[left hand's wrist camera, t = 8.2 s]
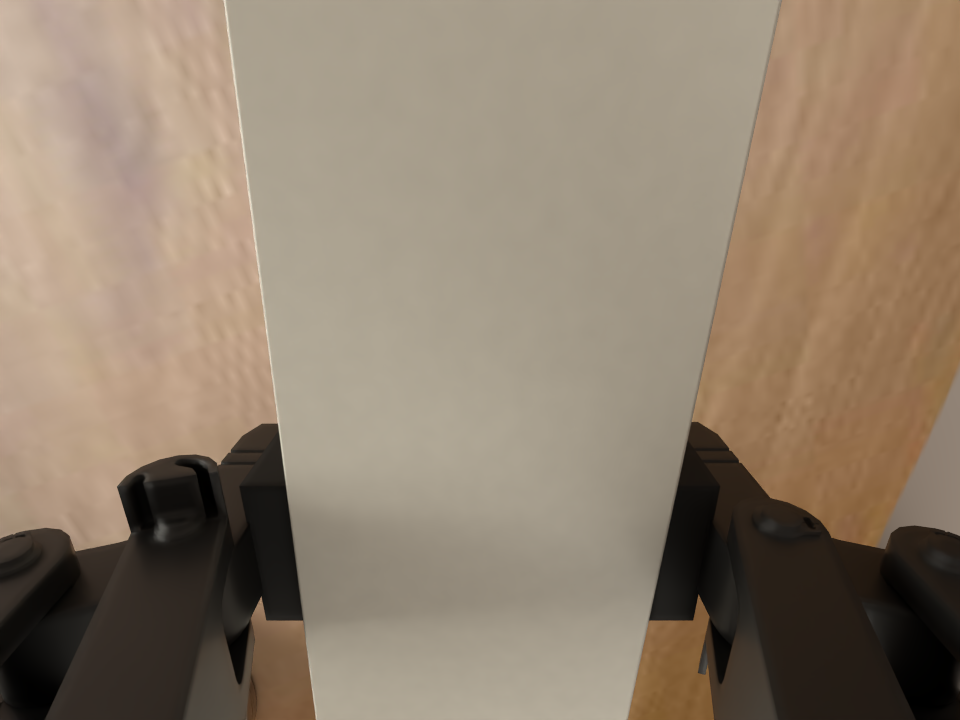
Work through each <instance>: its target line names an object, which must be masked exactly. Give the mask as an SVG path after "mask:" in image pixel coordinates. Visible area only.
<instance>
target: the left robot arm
mask: <svg viewBox="0 0 960 720" xmlns="http://www.w3.org/2000/svg"><path fill="white" fill-rule="evenodd" d="M117 488H118V491H119V495H120V498H121V501H122V504H123V508H124V511H125V514H126V517H127V521H128V524H129V527H130V530H131V535H130V537H129V539H128V540H127V541H123V542H120V543H115V544H110V545H106V546H101V547H96V548H91V549H86V550H81V551H76V552H75V550H74V547H73V545H72V542H71V539H70V536H69V535H68V534H66V533H65V532H63V531H62V530H59V529H50V528H43V529H36V530H29V531H23V532H19V533H16V534H14V535H13V534H12V535H9V536H6V537H3V538H1V539H0V720H255V716H256V711H257V699H256V692H255V688H254V685H253V682H252V680H251V669H252V660H253V652H254V643H255V638H254V632H253V626H252V622H251V616H252V614H253V612H254V610H255V608H256V606H257V604H258V602H259V600H260V598H261V596H262V601H263V606H264V610H265V615H266V620H303V614H302V606H301V598H300V590H299V583H298V575H297V567H296V559H295V552H294V544H293V536H292V528H291V521H290V513H289V505H288V497H287V489H286V482H285V474H284V466H283V458H282V451H281V443H280V435H279V427H278V424H261V425H259V426H258V427H256V428H255V429H253V430H251V431H250V432H248V433H247V434H245V435H243V436H242V437H241V438H240V440H239V441H238V442H237V443H236V445H235V446H234V447H233V448H232V449H231V453H228V454H227V456H226V457H225V458H224V459H223V460H222V462H221V465H218V466H217V463H216V462H215V461H213V460H212V459H211V458H209V457H205V456H200V455H178V456H174V457H169V458H165V459H160V460H158V461H155V462H153V463H150V464H147V465H145V466H142V467H141V468H139V469H137V470H136V471H134V472H132V473H131V474H129V475H128V476H126V477H125V478H124V480H123V481H122V482H121V483H120V484H119V485H118V486H117ZM698 594H699V596H700V598H701V600H702V602H703V604H704V606H705V608H706V610H707V612H708V614H709V616H710V617H709V622H708V626H707V631H706V635H705V640H704V645H703V649H702V654H701V658H700V663H699V670H698V673H700V674H704V675H705V673H706V669H707V665H708V668H709V677H710V686H711V695H712V704H713V713H714V720H960V536H958V535H956V534H953V533H950V532H945V531H943V530H939V529H935V528H928V527H921V526H906V527H899V528H898V529H896V530H895V531H894V532H892V533H891V535H890V538H889V540H888V543H887V546H886V549H880V548H876V547H871V546H866V545H861V544H856V543H851V542H846V541H841V540H838V539H834V538H831V536H830V534H829V532H828V531H827V529H826V528H825V527H824V525H823V524H822V523H821V522H820V521H819V520H818V519H817V518H815V517H814V516H812V515H811V514H810V513H808V512H807V511H805V510H803V509H801V508H799V507H797V506H794V505H792V504H790V503H787V502H783V501H779V500H775V499H772V498H770V497H769V496H768V495H767V494H766V492H765V491H764V490H763V489H762V487H761V486H760V485H759V484H758V483H757V481H756V480H755V479H754V478H753V477H752V475H751V474H750V473H749V472H748V471H747V469H746V468H745V467H744V466H743V465H742V463H739V460H738V458H737V457H736V456H735V455H734V454H733V452H732V451H729V448H728V446H727V445H726V444H725V443H724V442H723V440H722V439H721V438H720V437H719V436H718V434H716V433H715V432H713V431H711V430H710V429H708V428H707V427H705V426H703V425H702V424H700V423H698V422H691V426H690V431H689V435H688V440H687V445H686V449H685V454H684V459H683V463H682V468H681V473H680V477H679V482H678V487H677V491H676V496H675V501H674V505H673V510H672V515H671V519H670V524H669V529H668V533H667V538H666V543H665V547H664V552H663V557H662V561H661V566H660V571H659V575H658V580H657V585H656V589H655V594H654V599H653V603H652V608H651V613H650V617H649V620H693V618H694V613H695V609H696V604H697V599H698Z"/></svg>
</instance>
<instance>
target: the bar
mask: <svg viewBox="0 0 960 720" xmlns="http://www.w3.org/2000/svg"><path fill="white" fill-rule="evenodd" d="M781 2H782V0H224V8H225V16H226V23H227V31H228V39H229V47H230V54H231V62H232V70H233V78H234V85H235V93H236V101H237V109H238V117H239V124H240V132H241V140H242V148H243V155H244V163H245V171H246V179H247V186H248V194H249V202H250V210H251V218H252V225H253V233H254V241H255V249H256V256H257V264H258V272H259V280H260V287H261V295H262V303H263V311H264V319H265V326H266V334H267V342H268V350H269V357H270V365H271V373H272V381H273V388H274V396H275V404H276V412H277V420H278V427H279V435H280V443H281V451H282V458H283V466H284V474H285V482H286V489H287V497H288V505H289V513H290V521H291V528H292V536H293V544H294V552H295V559H296V567H297V575H298V583H299V590H300V598H301V606H302V614H303V622H304V629H305V637H306V645H307V653H308V660H309V668H310V676H311V684H312V691H313V699H314V707H315V715H316V720H628V715H629V711H630V706H631V701H632V697H633V692H634V687H635V683H636V678H637V673H638V669H639V664H640V659H641V655H642V650H643V645H644V641H645V636H646V631H647V627H648V622H649V617H650V613H651V608H652V603H653V599H654V594H655V589H656V585H657V580H658V575H659V571H660V566H661V561H662V557H663V552H664V547H665V543H666V538H667V533H668V529H669V524H670V519H671V515H672V510H673V505H674V501H675V496H676V491H677V487H678V482H679V477H680V473H681V468H682V463H683V459H684V454H685V449H686V445H687V440H688V435H689V431H690V426H691V422H692V417H693V412H694V408H695V403H696V398H697V394H698V389H699V384H700V380H701V375H702V370H703V366H704V361H705V356H706V352H707V347H708V342H709V338H710V333H711V328H712V324H713V319H714V314H715V310H716V305H717V300H718V296H719V291H720V286H721V282H722V277H723V272H724V268H725V263H726V258H727V254H728V249H729V244H730V240H731V235H732V230H733V226H734V221H735V216H736V212H737V207H738V202H739V198H740V193H741V188H742V184H743V179H744V174H745V170H746V165H747V160H748V156H749V151H750V146H751V142H752V137H753V132H754V128H755V123H756V118H757V114H758V109H759V104H760V100H761V95H762V90H763V86H764V81H765V76H766V72H767V67H768V62H769V58H770V53H771V48H772V44H773V39H774V34H775V30H776V25H777V20H778V16H779V11H780V6H781Z"/></svg>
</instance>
